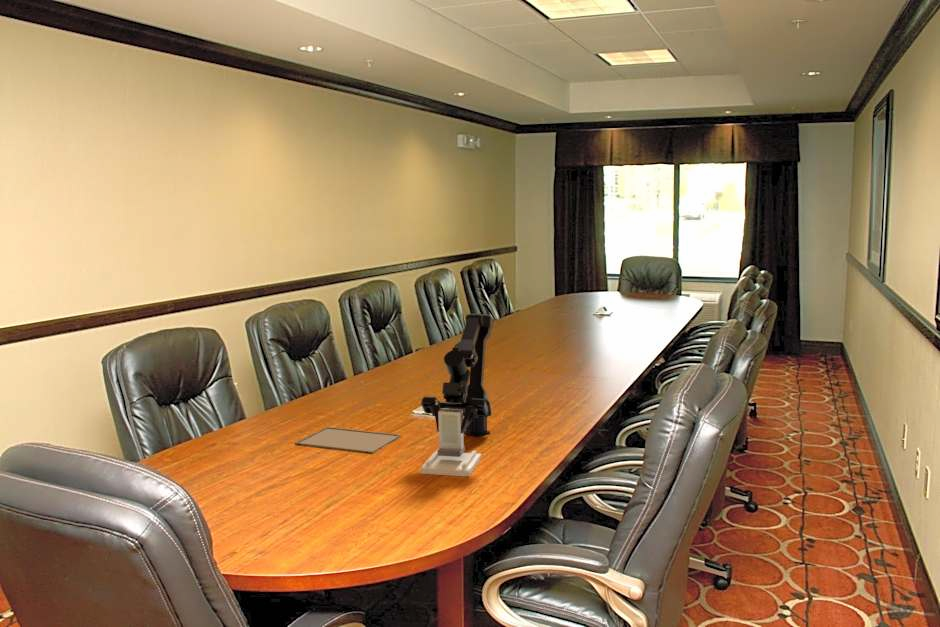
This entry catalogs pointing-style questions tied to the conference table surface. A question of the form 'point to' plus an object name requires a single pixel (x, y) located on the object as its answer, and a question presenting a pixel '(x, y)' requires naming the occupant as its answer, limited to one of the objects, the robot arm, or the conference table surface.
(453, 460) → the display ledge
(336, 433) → the grey flat bordered slab
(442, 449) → the tall brushed metal block
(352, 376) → the conference table surface
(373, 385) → the conference table surface
